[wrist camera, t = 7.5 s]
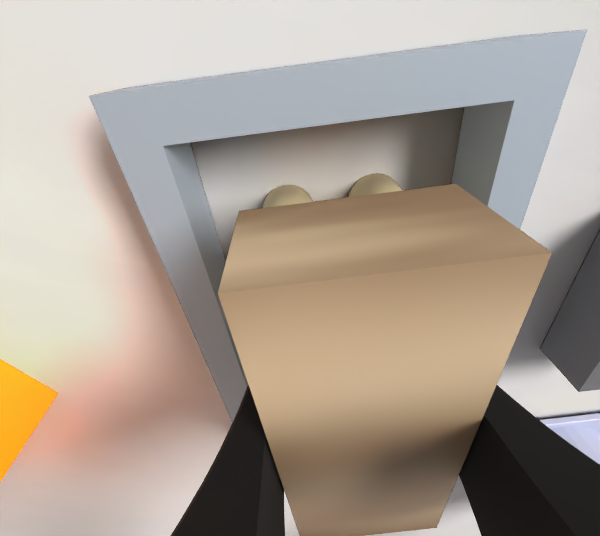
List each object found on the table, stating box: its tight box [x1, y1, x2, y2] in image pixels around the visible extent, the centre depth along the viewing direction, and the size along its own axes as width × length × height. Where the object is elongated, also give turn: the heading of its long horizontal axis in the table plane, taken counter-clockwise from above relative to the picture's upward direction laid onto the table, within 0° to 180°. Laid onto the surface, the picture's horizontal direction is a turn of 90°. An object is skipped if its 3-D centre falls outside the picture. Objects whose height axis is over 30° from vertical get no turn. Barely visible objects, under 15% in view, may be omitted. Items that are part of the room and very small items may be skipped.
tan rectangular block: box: [218, 184, 552, 536], centre depth 9 cm, size 12×5×3 cm, turn 6°
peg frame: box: [89, 30, 587, 422], centre depth 12 cm, size 17×11×2 cm, turn 6°
